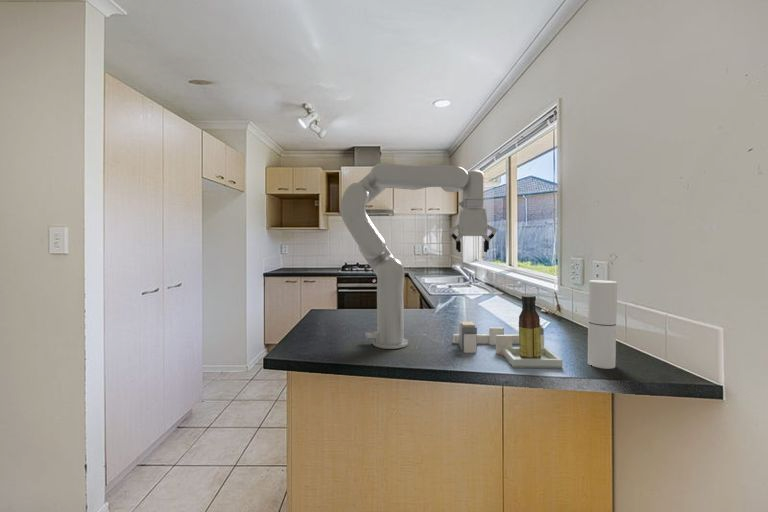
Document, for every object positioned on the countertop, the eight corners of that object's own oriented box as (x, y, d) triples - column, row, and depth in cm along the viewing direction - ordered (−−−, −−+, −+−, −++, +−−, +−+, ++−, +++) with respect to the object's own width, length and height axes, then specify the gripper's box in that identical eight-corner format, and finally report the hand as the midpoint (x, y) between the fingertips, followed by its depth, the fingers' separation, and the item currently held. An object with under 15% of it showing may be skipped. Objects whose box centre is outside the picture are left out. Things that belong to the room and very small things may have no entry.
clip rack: (459, 355, 119) (459, 328, 118) (453, 342, 134) (453, 318, 134) (553, 356, 117) (554, 329, 116) (536, 342, 132) (536, 318, 132)
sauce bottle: (537, 356, 115) (538, 293, 114) (544, 363, 109) (544, 297, 108) (516, 355, 116) (516, 293, 115) (521, 362, 109) (521, 296, 108)
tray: (513, 367, 106) (513, 359, 106) (502, 355, 118) (502, 347, 118) (562, 368, 106) (562, 360, 106) (546, 355, 118) (546, 347, 118)
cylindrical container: (584, 364, 109) (585, 281, 108) (591, 358, 114) (593, 279, 113) (611, 370, 104) (613, 283, 103) (618, 364, 109) (619, 281, 108)
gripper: (449, 204, 130) (449, 252, 131) (499, 204, 129) (498, 252, 130) (447, 206, 138) (447, 251, 138) (494, 206, 136) (493, 251, 137)
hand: (472, 252), depth 134 cm, fingers open, 9 cm apart
